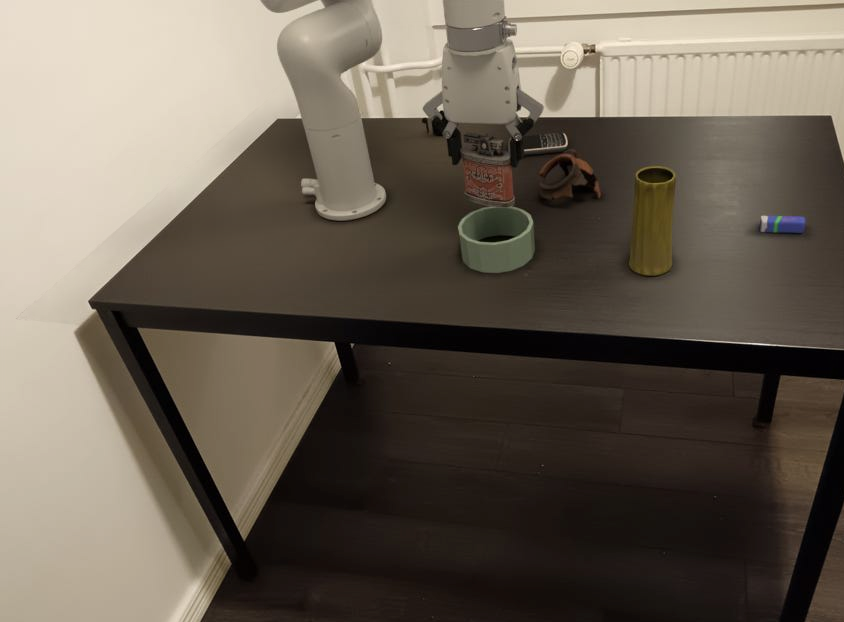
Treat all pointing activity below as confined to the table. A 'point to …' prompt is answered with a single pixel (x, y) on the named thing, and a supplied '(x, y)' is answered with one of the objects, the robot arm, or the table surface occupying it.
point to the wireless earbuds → (435, 129)
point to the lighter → (487, 171)
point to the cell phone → (544, 143)
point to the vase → (652, 221)
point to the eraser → (782, 224)
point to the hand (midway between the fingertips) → (486, 161)
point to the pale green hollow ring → (497, 253)
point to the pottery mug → (568, 176)
